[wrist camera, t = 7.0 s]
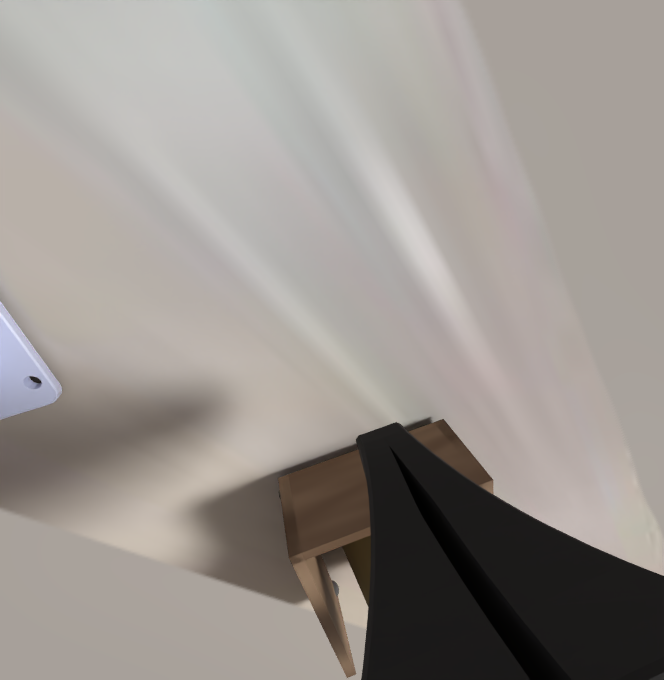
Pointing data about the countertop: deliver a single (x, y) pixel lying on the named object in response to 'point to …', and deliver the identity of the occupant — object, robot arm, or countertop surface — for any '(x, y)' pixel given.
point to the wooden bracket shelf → (347, 520)
